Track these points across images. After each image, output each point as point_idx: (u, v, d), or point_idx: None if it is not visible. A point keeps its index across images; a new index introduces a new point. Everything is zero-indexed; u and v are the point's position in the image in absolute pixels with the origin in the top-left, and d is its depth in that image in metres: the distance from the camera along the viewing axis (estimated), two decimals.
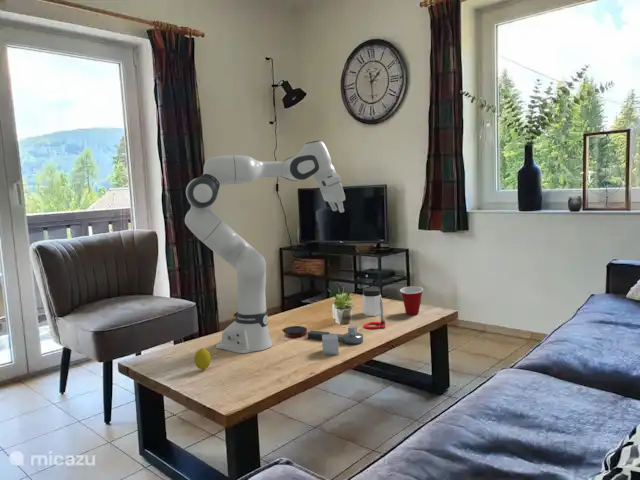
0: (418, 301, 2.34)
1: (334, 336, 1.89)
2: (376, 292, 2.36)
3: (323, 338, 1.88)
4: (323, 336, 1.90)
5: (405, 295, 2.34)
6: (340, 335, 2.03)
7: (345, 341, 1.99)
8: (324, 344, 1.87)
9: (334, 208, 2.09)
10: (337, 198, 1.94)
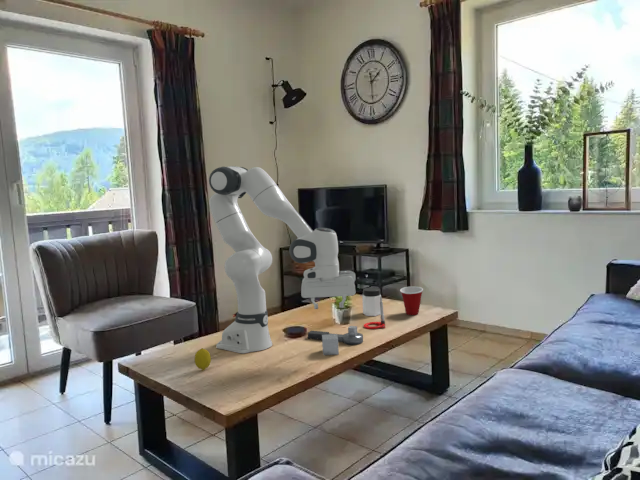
0: (418, 301, 2.34)
1: (334, 336, 1.89)
2: (376, 292, 2.36)
3: (323, 338, 1.88)
4: (323, 336, 1.90)
5: (405, 295, 2.34)
6: (340, 335, 2.03)
7: (345, 341, 1.99)
8: (324, 344, 1.87)
9: (339, 304, 1.88)
10: None
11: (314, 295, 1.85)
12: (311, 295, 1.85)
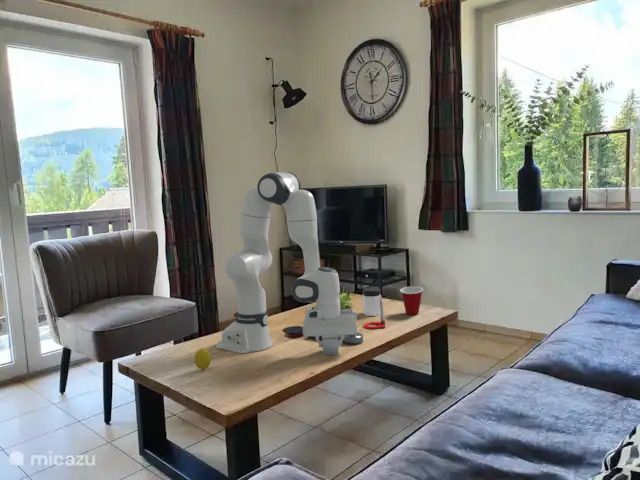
0: (418, 301, 2.34)
1: (334, 336, 1.89)
2: (376, 292, 2.36)
3: (323, 338, 1.88)
4: (323, 336, 1.90)
5: (405, 295, 2.34)
6: (340, 335, 2.03)
7: (345, 341, 1.99)
8: (324, 344, 1.87)
9: (338, 342, 1.90)
10: None
11: (316, 334, 1.87)
12: (313, 334, 1.87)
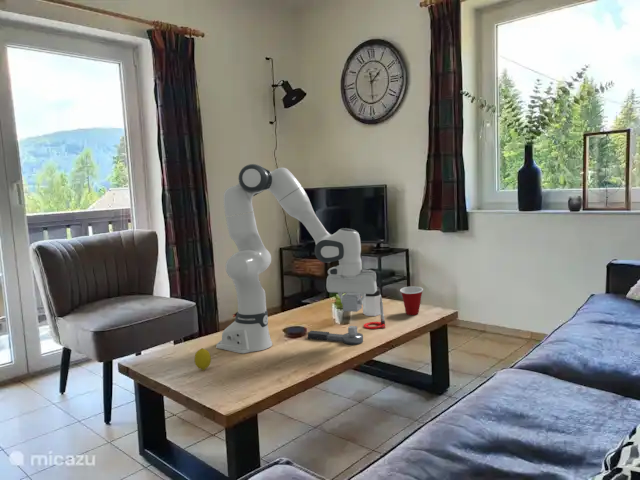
0: (418, 301, 2.34)
1: (355, 294, 1.98)
2: (376, 292, 2.36)
3: (344, 295, 1.98)
4: (346, 293, 2.00)
5: (405, 295, 2.34)
6: (340, 335, 2.03)
7: (345, 341, 1.99)
8: (344, 300, 1.97)
9: None
10: None
11: (337, 290, 1.99)
12: (335, 290, 1.99)
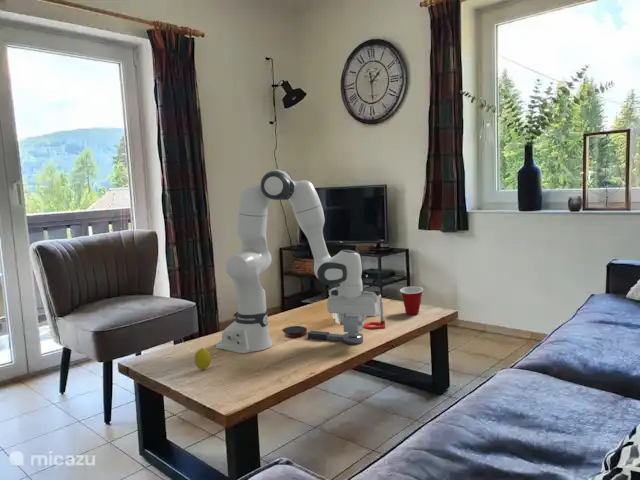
0: (418, 301, 2.34)
1: (356, 315, 1.99)
2: (376, 292, 2.36)
3: (345, 316, 1.99)
4: (347, 314, 2.01)
5: (405, 295, 2.34)
6: (340, 335, 2.03)
7: (345, 341, 1.99)
8: (344, 321, 1.98)
9: None
10: None
11: (338, 311, 2.00)
12: (336, 311, 2.00)
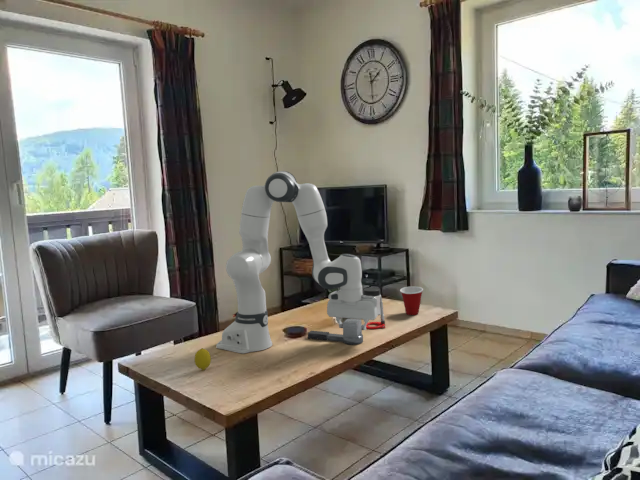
0: (418, 301, 2.34)
1: (356, 321, 1.99)
2: (376, 292, 2.36)
3: (344, 321, 1.99)
4: (347, 320, 2.02)
5: (405, 295, 2.34)
6: (340, 335, 2.03)
7: (345, 341, 1.99)
8: (344, 327, 1.98)
9: None
10: None
11: (338, 315, 2.00)
12: (335, 315, 2.01)
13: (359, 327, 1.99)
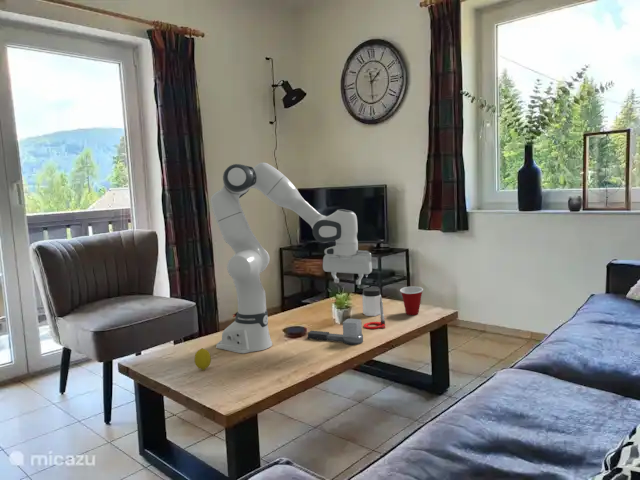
0: (418, 301, 2.34)
1: (356, 321, 1.99)
2: (376, 292, 2.36)
3: (344, 321, 1.99)
4: (347, 320, 2.02)
5: (405, 295, 2.34)
6: (340, 335, 2.03)
7: (345, 341, 1.99)
8: (344, 327, 1.98)
9: None
10: None
11: (333, 270, 2.04)
12: (331, 270, 2.04)
13: (359, 327, 1.99)
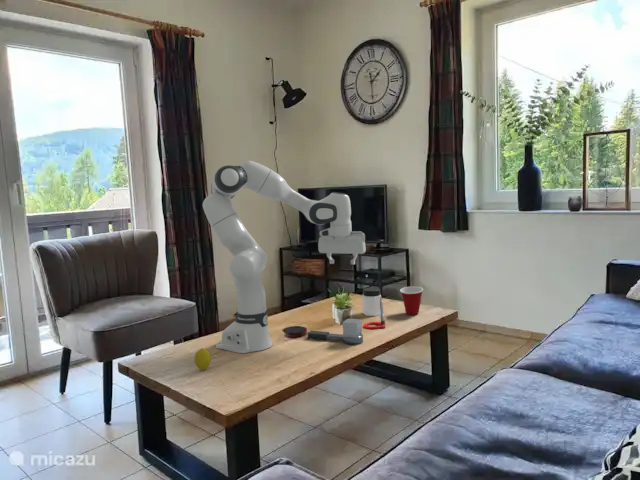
0: (418, 301, 2.34)
1: (356, 321, 1.99)
2: (376, 292, 2.36)
3: (344, 321, 1.99)
4: (347, 320, 2.02)
5: (405, 295, 2.34)
6: (340, 335, 2.03)
7: (345, 341, 1.99)
8: (344, 327, 1.98)
9: None
10: None
11: (328, 251, 2.11)
12: (326, 251, 2.12)
13: (359, 327, 1.99)
